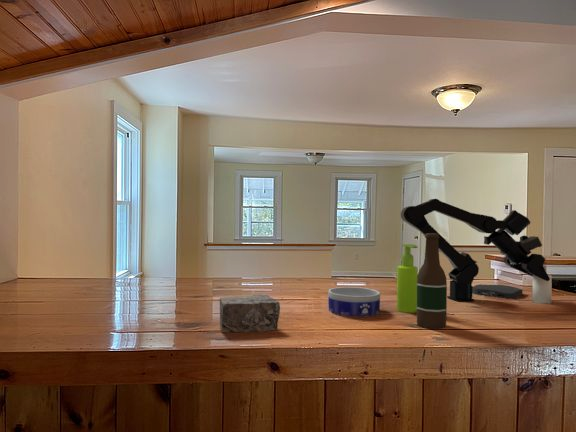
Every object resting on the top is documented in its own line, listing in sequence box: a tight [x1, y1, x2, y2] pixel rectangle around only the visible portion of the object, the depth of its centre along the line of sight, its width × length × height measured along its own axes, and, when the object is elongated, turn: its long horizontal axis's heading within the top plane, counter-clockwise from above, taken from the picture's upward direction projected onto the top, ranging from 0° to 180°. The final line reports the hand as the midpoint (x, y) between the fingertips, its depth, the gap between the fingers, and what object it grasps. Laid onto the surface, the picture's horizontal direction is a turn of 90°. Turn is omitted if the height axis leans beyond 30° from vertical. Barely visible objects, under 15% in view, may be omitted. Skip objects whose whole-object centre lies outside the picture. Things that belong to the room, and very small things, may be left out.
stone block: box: [219, 293, 281, 333], centre depth 103 cm, size 14×9×8 cm, turn 108°
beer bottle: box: [416, 233, 448, 330], centre depth 106 cm, size 8×8×24 cm
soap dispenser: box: [396, 243, 419, 314], centre depth 122 cm, size 6×7×20 cm
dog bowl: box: [327, 286, 381, 318], centre depth 122 cm, size 15×15×6 cm
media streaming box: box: [472, 284, 524, 300], centre depth 150 cm, size 15×15×3 cm
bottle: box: [531, 264, 553, 305], centre depth 137 cm, size 5×5×12 cm
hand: (541, 278), depth 137 cm, fingers open, 9 cm apart
